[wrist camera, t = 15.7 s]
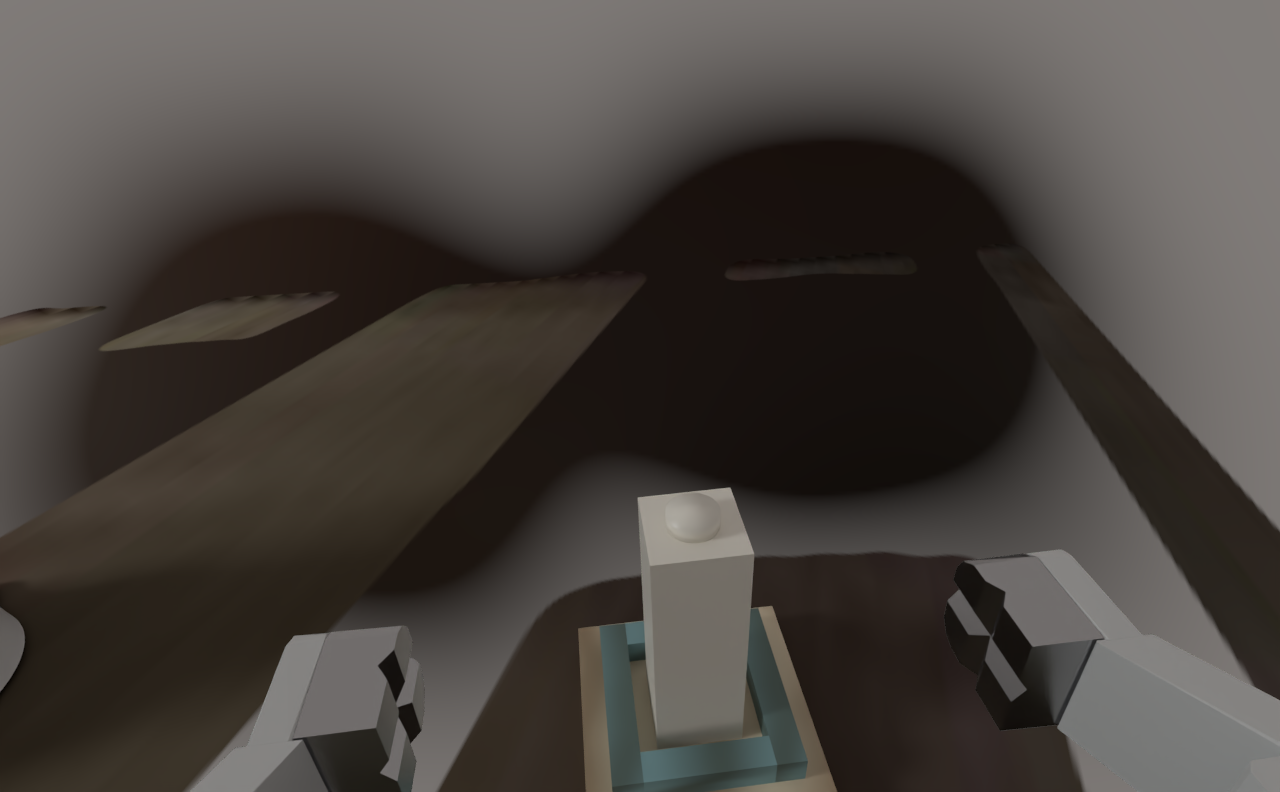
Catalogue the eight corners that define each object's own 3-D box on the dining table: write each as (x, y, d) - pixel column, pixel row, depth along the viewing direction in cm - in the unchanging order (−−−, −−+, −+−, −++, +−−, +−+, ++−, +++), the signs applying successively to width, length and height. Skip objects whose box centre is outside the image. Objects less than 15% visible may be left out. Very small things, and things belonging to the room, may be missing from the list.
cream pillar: (657, 749, 36) (649, 551, 29) (646, 675, 40) (636, 484, 32) (742, 737, 36) (755, 539, 29) (723, 665, 40) (730, 474, 33)
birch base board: (591, 858, 33) (585, 819, 32) (581, 650, 44) (576, 611, 42) (836, 823, 34) (844, 784, 33) (770, 627, 45) (773, 588, 43)
